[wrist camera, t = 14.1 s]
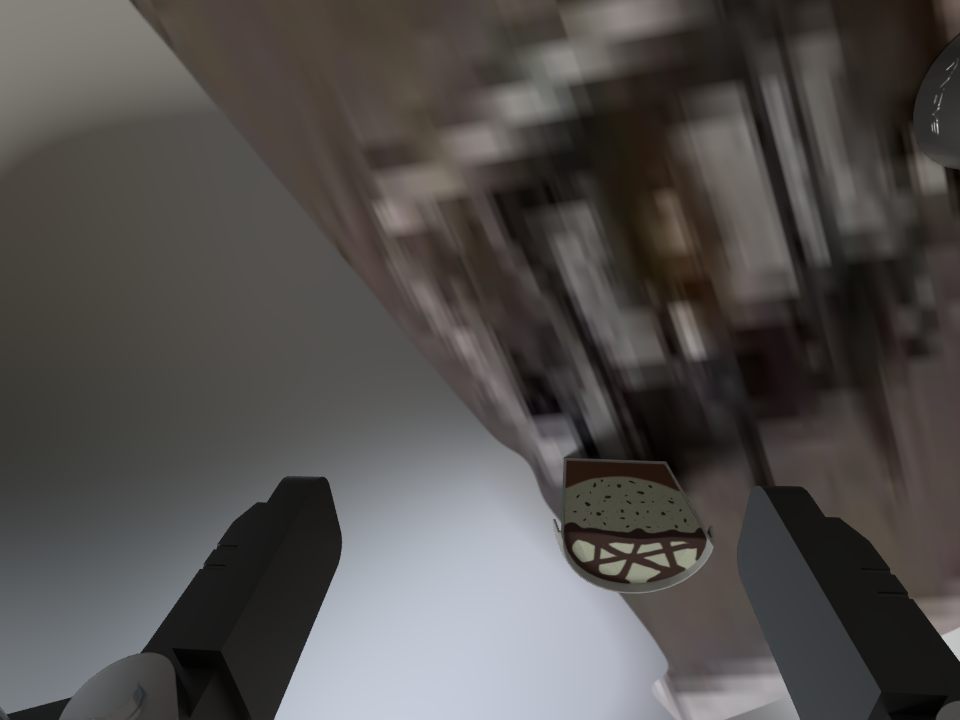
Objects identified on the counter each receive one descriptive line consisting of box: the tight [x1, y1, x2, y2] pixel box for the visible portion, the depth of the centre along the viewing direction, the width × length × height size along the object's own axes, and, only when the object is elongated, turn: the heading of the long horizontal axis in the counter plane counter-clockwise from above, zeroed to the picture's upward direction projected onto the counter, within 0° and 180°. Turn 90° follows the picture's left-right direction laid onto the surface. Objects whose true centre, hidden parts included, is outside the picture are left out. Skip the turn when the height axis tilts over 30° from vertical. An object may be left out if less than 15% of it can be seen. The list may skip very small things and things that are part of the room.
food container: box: [553, 458, 715, 593], centre depth 44 cm, size 12×6×10 cm, turn 90°
